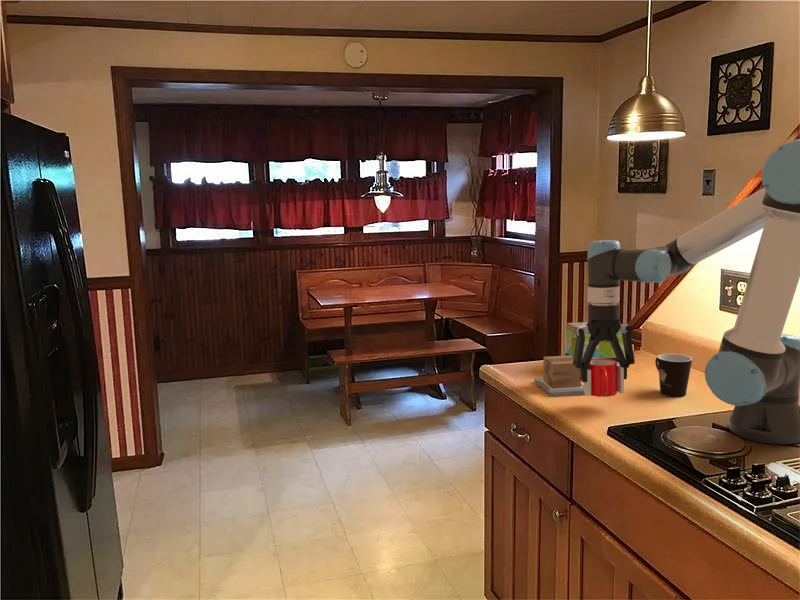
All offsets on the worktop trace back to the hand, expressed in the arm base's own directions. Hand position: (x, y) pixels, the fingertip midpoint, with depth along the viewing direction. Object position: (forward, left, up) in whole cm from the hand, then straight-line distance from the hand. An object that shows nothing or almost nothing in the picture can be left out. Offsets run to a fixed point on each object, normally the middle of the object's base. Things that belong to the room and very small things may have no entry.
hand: (603, 393), depth 166 cm
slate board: (+21, +3, -5) cm, 21 cm away
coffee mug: (+12, -25, -5) cm, 28 cm away
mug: (0, 0, 0) cm, 1 cm away
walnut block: (+21, +3, -3) cm, 21 cm away
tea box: (+36, -13, -5) cm, 38 cm away
